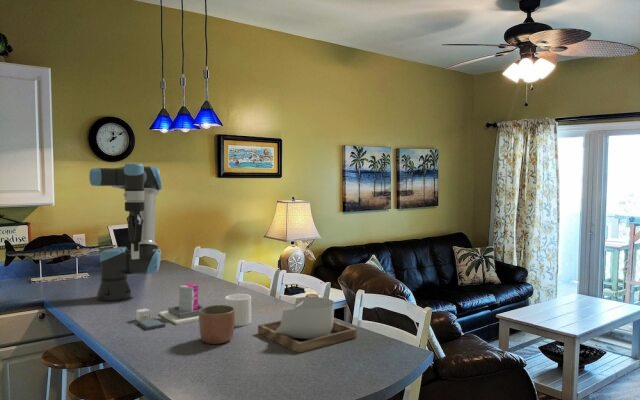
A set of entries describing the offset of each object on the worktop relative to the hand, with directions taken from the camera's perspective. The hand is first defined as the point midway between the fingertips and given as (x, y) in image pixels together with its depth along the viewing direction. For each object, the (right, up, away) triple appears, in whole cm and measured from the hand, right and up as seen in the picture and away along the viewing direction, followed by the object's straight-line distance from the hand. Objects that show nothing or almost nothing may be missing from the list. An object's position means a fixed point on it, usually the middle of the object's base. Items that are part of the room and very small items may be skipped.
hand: (135, 258), depth 203 cm
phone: (+11, -24, -13) cm, 29 cm away
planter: (+40, -25, -30) cm, 56 cm away
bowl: (+71, -25, -24) cm, 79 cm away
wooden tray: (+71, -25, -24) cm, 79 cm away
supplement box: (+22, -23, +1) cm, 31 cm away
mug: (+43, -24, -8) cm, 50 cm away
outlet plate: (+22, -23, +1) cm, 32 cm away
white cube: (+5, -24, -6) cm, 25 cm away
